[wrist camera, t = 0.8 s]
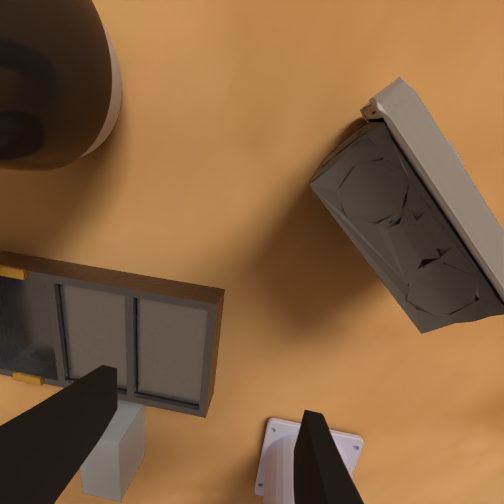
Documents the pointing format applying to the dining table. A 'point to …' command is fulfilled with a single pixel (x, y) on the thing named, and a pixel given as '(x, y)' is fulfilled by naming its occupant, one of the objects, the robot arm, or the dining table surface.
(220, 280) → the dining table surface
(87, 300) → the rack
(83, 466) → the grey rectangular block
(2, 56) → the dark egg shaped ornament
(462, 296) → the electrical switch
